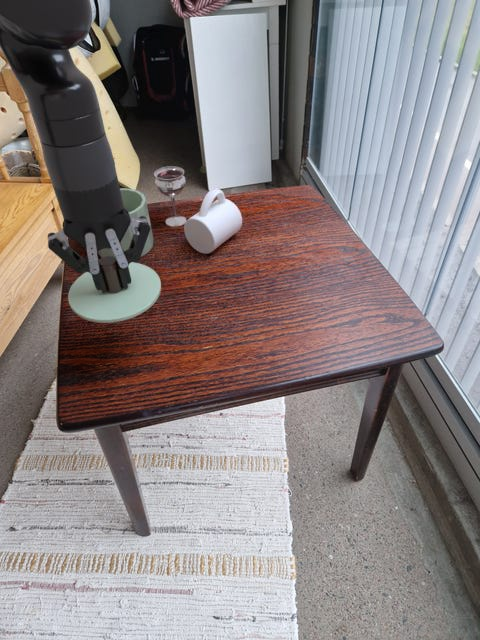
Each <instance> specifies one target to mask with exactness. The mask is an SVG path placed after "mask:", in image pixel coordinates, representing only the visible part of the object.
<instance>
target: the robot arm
mask: <svg viewBox="0 0 480 640" xmlns="http://www.w3.org/2000/svg"><path fill="white" fill-rule="evenodd" d="M92 9H93V8H92V3H91V0H0V49H1V51H2V54H3V55H4V57H5V60H6V61H7V63H8V65H9V67H10V69H11V71H12V73H13V75H14V77H15V78H16V80H17V82H18V84H19V85H20V88H21V89H22V92H23V93H24V96H25V98H26V100H27V101H26V102H27V104H28V108H29V111H30V114H31V117H32V121H33V123H34V127H35V130H36V133H37V135H38V138H39V139H38V140H39V142H40V146H41V150H42V157H43V161H44V165H45V168H46V170H47V174H48V176H49V179H50V182H51V186H52V188H53V191H54V194H55V197H56V200H57V203H58V206H59V209H60V212H61V214H62V219H63V221H62V228H61V229H59V230H58V231H57V232H49V233H48V234H47V247H48V249H49V250H50V251H51V252H53V253H54V254H55V255H56V256H57V257H58V258H59V259H60V260H61V261H63V262H64V263H65V264H66V265H67V266H69V267H70V269H72V270H73V271H74V272H76V273H77V274H84V273H86V272H89V273H91V275H92V278H93V281H94V284H95V287H96V289H97V290H102V293H106V292H107V289H106V285H105V282H104V278H103V275H102V272H101V269H100V265H99V258H98V257H99V256H98V252H97V251H100V250H102V249H111V248H112V250H113V252H114V255H115V257H116V259H117V264H118V269H119V273H120V277H121V281H122V285H123V288H128V285H127V284H130V283H131V276H130V272H129V268H128V266H129V264H130V263H131V262H134V263H138V262H139V261H140V260H141V258H142V257H141V254H142V252H143V249H144V246H145V243H146V240H147V238H148V235H149V232H150V225H149V223H148V220H147V218H146V217H145V216H141V217H139V218H136V217H132V216H130V215H129V213H128V211H127V210H126V209H125V208H124V205H123V200H122V195H121V191H120V188H121V186H120V183H119V178H118V173H117V169H116V162H115V159H114V154H113V152H112V148H111V145H110V142H109V140H108V136H107V133H106V129H105V126H104V125H105V124H104V121H103V117H102V111H101V107H100V103H99V99H98V94H97V92H96V89H95V86H94V84H93V82H92V81H91V80H90V78H89V77H88V76H87V75H86V74H84V72H82V71H81V70H80V69H79V68H78V67H77V66H76V64H75V62H74V60H73V57H72V55H71V52H70V50H72V49H73V48H76V47H78V46H79V45H81V44H82V43H83V42H84V40H86V38H87V36H88V35H89V33H90V30H91V27H92V24H93V23H92V22H93V10H92ZM129 226H131V229H132V232H133V233H134V234H133V237H132V240H131V243H130V246H129V249H128V250H126V251H124V250H123V247H122V245H121V241H122V239H123V237H124V235H125V233H126V231H127V229H128V227H129ZM68 238H69V239H70V240H72V241H73V242H74V243H76V244H77V245H79V246H80V247H82V248H83V249H85V250H86V254H87V255H86V256H87V258H83V257H82V256H81V255H80V254H79V253H78V252H76V250H74V249H73V248H72V247H71V246H70V244H69V239H68Z"/></svg>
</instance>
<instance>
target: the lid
mask: <svg viewBox="0 0 480 640" xmlns="http://www.w3.org/2000/svg"><path fill="white" fill-rule="evenodd" d="M98 264H99V265H100V269H101V272H102V275H103V278H104V282H105V285H106V289H107V292H106V293H102V290H97V289H96V287H95V284H94V281H93V278H92V275H91V273H89V272H83V273H82V274H80V276H79V277H77V279H76V280H75V281H74V282H73V283H72V285H71V286H70V288H69V290H68V294H67V302H68V305H69V307H70V310H72V312H73V313H74V314H75V315H76V316H78V317H79V318H81V319H83V320H86V321H89V322H93V323H99V324H110V323H119V322H123V321H126V320H127V321H128V320H130V319H133V318H135V317H137V316H139V315H141V314H143V313H145V312H146V311H148V310H149V309H150V308H151V307H152V306H154V304H155V303H156V302H157V301H158V299H159V298H160V295H161V293H162V282H161V279H160V278H161V277H160V276H159V274H158V273H157V272H156V271H155V270H154V269H153V268H151V267H150V266H147V265H145V264H142V263H139V262H131V263H130V264H129V266H128V268H129V272H130V276H131V283H130V284H127V285H128V288H123V285H122V281H121V277H120V273H119V269H118V264H117V260H116V258H115V257H113V256H106V257H103V258H102V257H101V258H100V259H98Z"/></svg>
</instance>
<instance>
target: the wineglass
mask: <svg viewBox="0 0 480 640" xmlns="http://www.w3.org/2000/svg"><path fill="white" fill-rule="evenodd" d="M184 174H185V170H184V169H183V168H182V167H179V166H173V165H171V166H170V165H168V166H163V167H160V168H158V169H156V170H155V171H154V173H153V175H154V177H155V180H154V185H155V187H156V189H157V190H158V192H159V193H161V194H162V195H164V196H166V197H169V198H170V199H171V200H170V201H171V205H172V210H173V215H172V216H169V217H168V218H166V220H165V224H166V225H167V226H169V227H182V226H183V225H185V222H186V221H187V218H186V217H185V216H183V215H177V212H176V211H177V210H176V209H177V208H176V201H175V198H176V196H178V195H180V194H181V193H182V192H183V190H185V188H186V183H187V182H186V177H185V175H184Z"/></svg>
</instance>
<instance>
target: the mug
mask: <svg viewBox="0 0 480 640" xmlns="http://www.w3.org/2000/svg"><path fill="white" fill-rule="evenodd" d="M216 198H217V199H216ZM215 199H216V200H215ZM242 216H243V215H242V212H241V211H240V209H239V207H238V206H237V205H236V204H235V203H234V202H233V201H232V200H230V199H228V198H226V196H225V193H224V191H222V190H221V189H220V188H212V189H210V190H209V191H208V192H207V193H206V195H205V196H204V198H203V200H202V202H201V206H200V209H199V211H198V212H197V213H195V214H194V215H192V216H191V217H189V218H188V219H186V222H185V223H184V224H183V225H184V226H183V232H184V235H185V238H186V240H187V242H188V243H189V245H190V246H191V247H192V249H194V250H195V251H197V252H198V253H201V254H204V255H208V254H212V253H213V252H214V251H215V250H217V248H219V247H220V246H221V245H222V244H224V243H225V242H226V241H228V240H229V239H230V238H232V237H233V236H234V235H235V234H236V233H238V232H239V231H240V230H241V229H242V227H243V217H242Z"/></svg>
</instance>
